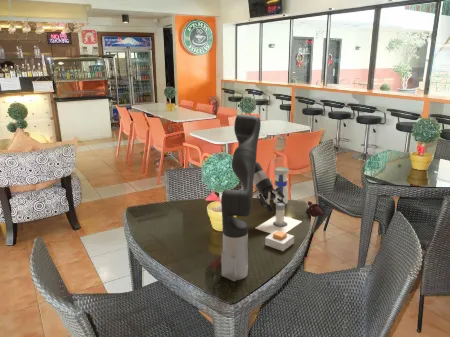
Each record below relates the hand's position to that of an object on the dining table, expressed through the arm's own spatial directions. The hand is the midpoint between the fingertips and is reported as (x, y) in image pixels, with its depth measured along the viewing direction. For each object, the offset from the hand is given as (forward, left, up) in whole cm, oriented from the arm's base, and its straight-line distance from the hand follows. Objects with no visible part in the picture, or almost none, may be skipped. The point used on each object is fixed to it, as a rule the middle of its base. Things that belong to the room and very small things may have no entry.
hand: (278, 209), depth 181 cm
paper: (-1, -1, -7) cm, 7 cm away
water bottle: (+25, +14, -7) cm, 29 cm away
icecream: (+19, -10, -7) cm, 23 cm away
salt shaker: (-1, -1, -7) cm, 7 cm away
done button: (-17, -11, -5) cm, 21 cm away
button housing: (-17, -11, -7) cm, 22 cm away
